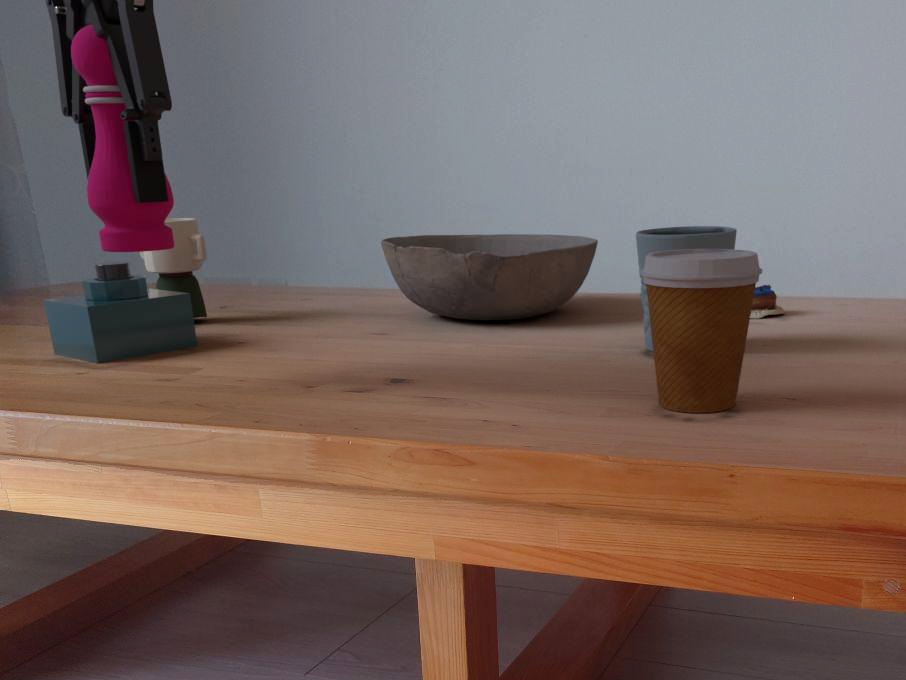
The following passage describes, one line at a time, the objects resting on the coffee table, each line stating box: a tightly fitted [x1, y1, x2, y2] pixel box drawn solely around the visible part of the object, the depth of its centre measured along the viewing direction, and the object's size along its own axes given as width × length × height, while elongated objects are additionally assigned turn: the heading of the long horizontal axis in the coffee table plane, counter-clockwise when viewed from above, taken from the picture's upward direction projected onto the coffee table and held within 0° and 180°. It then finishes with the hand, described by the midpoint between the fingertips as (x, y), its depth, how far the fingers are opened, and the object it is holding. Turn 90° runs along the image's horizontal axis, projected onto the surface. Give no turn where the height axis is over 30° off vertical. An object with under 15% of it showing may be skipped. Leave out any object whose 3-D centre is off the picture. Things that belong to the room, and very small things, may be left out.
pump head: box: [93, 261, 132, 281], centre depth 111 cm, size 4×4×2 cm
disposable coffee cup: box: [640, 249, 764, 414], centre depth 81 cm, size 10×10×12 cm
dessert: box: [750, 284, 785, 320], centre depth 127 cm, size 8×7×6 cm
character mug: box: [139, 217, 208, 319], centre depth 131 cm, size 11×7×13 cm, turn 65°
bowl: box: [380, 233, 599, 321], centre depth 131 cm, size 28×28×10 cm
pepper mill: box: [71, 25, 175, 253], centre depth 88 cm, size 7×7×20 cm
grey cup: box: [635, 225, 738, 352], centre depth 105 cm, size 10×10×12 cm
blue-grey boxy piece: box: [43, 274, 198, 365], centre depth 113 cm, size 12×10×8 cm
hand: (129, 201), depth 90 cm, fingers closed on pepper mill, 7 cm apart
